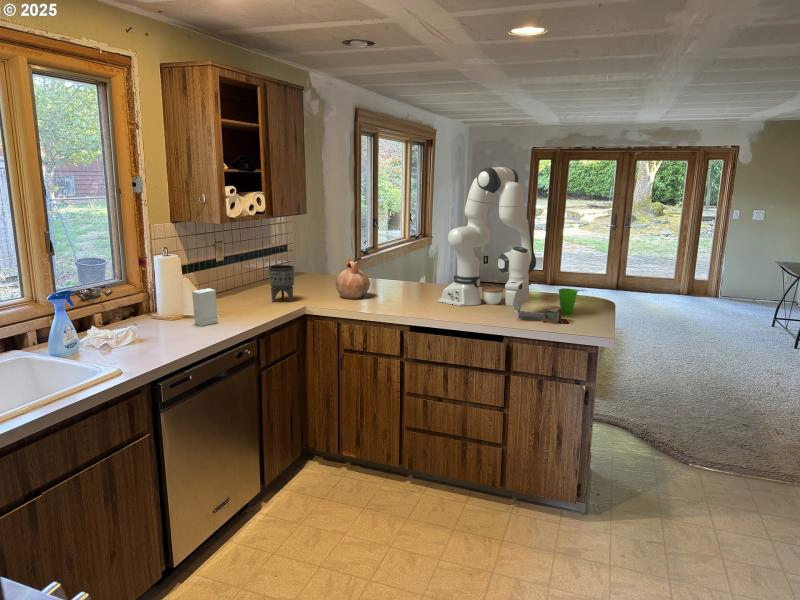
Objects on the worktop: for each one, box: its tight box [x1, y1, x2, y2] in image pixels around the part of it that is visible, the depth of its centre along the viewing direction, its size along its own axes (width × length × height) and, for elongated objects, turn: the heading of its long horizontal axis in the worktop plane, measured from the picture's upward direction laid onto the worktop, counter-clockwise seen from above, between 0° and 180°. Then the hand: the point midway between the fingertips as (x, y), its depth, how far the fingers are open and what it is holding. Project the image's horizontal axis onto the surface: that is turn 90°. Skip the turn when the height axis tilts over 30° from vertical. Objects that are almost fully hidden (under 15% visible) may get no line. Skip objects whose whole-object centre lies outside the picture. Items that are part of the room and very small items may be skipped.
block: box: [547, 311, 560, 323], centre depth 252 cm, size 4×4×4 cm
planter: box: [267, 264, 295, 304], centre depth 289 cm, size 13×13×18 cm
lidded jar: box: [481, 285, 504, 306], centre depth 287 cm, size 11×11×9 cm
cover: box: [541, 304, 563, 325], centre depth 252 cm, size 6×8×6 cm
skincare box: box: [191, 287, 219, 327], centre depth 244 cm, size 8×6×15 cm
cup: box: [557, 288, 579, 315], centre depth 267 cm, size 9×9×11 cm
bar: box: [518, 310, 548, 321], centre depth 257 cm, size 13×3×3 cm, turn 69°
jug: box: [335, 258, 371, 300], centre depth 299 cm, size 18×18×20 cm
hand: (517, 312), depth 261 cm, fingers closed
